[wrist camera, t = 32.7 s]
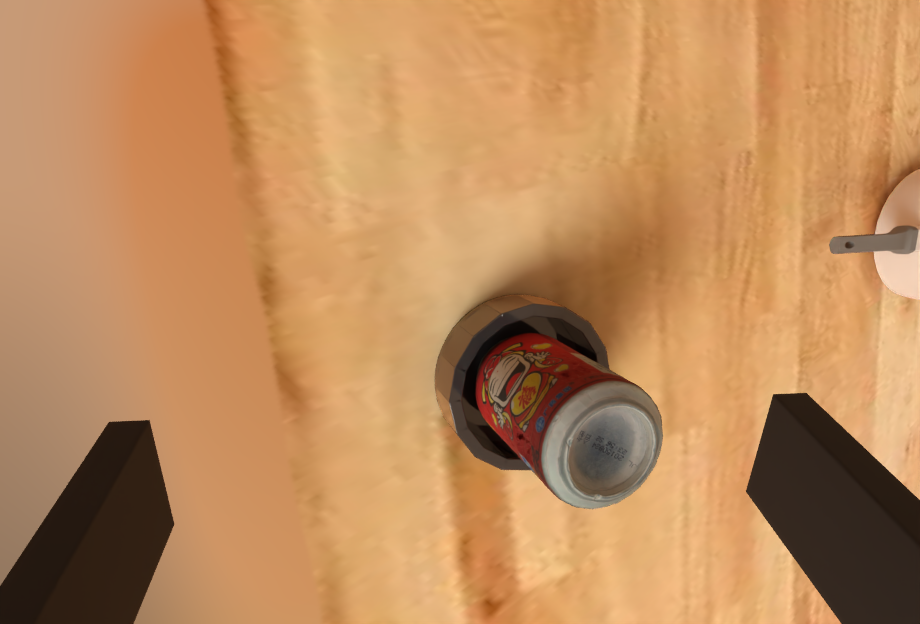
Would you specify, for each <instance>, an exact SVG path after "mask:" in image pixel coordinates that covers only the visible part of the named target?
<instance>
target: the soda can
mask: <svg viewBox="0 0 920 624" xmlns="http://www.w3.org/2000/svg"><path fill="white" fill-rule="evenodd" d="M475 396H476V401H477V405H478V408H479V410H480V412H481V414H482V416H483V418H484V419H485V421H486V422H487V423H488V424H489V425H490V426H491V427H492V428H493V430H494V431H495V432H496V433H497V434H498V435H499V436H500V437H501V438H502V439H503V440H504V441H505V442H506V443H507V444H508V445H509V447H510V448H511V449H512V450H513V451H514V452H515V453H516V454H517V455H518V456H519V457H520V458H521V459H522V460H523V461H524V462H525V464H526V465H527V466H528V467H529V468H530V469H531V470H532V471H533V472H534V473H535V474H536V475H537V476H538V478H539V479H540V480H541V481H542V482H543V483H544V484H545V486H546V487H547V488H548V489H549V490H550V491H551V492H552V493H553V494H554V495H555V496H556V497H558V498H559V499H560V500H562V501H564V502H566V503H568V504H570V505H572V506H574V507H578V508H587V509H596V508H602V507H607V506H610V505H612V504H616V503H618V502H620V501H621V500H623V499H625V498H626V497H628V496H630V495H631V494H632V493H633V492H635V491H636V490H637V489H638V488H639V487H640V486H641V485H642V484H643V483H644V481H645V480H646V479H647V477H648V476H649V474H650V473H651V471H652V470H653V468H654V467H655V465H656V462H657V459H658V457H659V454H660V450H661V446H662V439H663V432H662V420H661V415H660V412H659V410H658V408H657V406H656V404H655V403H654V402H653V400H652V398H651V397H650V396H649V395H648V394H647V393H646V392H645V391H644V390H643V389H642V388H640V387H639V386H638V385H636V384H634V383H632V382H630V381H628V380H627V379H625V378H623V377H622V376H620V375H618V374H616V373H614V372H612V371H611V370H609V369H607V368H605V367H604V366H602V365H600V364H598V363H596V362H595V361H593V360H591V359H589V358H587V357H586V356H584V355H582V354H580V353H579V352H577V351H575V350H573V349H572V348H570V347H568V346H566V345H565V344H563V343H561V342H559V341H558V340H556V339H554V338H552V337H549V336H547V335H544V334H538V333H523V334H519V335H515V336H512V337H509V338H506V339H504V340H501V341H500V342H498V343H497V344H495V345H494V346H493V347H491V348H490V349H489V350H488V351H487V353H486V354H485V355H484V357H483V358H482V360H481V362H480V365H479V367H478V371H477V376H476V389H475Z"/></svg>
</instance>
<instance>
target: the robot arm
mask: <svg viewBox="0 0 920 624" xmlns="http://www.w3.org/2000/svg"><path fill="white" fill-rule="evenodd" d="M746 492H747V494H748V495H749V496H750V498H751V499H752V501H753V502H754V503H755V505H756V506H757V507H758V509H759V510H760V512H761V513H762V514H763V516H764V517H765V519H766V520H767V521H768V523H769V524H770V525H771V527H772V528H773V530H774V531H775V532H776V534H777V535H778V536H779V538H780V539H781V541H782V542H783V543H784V545H785V546H786V548H787V549H788V550H789V552H790V553H791V554H792V556H793V557H794V559H795V560H796V561H797V563H798V564H799V565H800V567H801V568H802V570H803V571H804V572H805V574H806V575H807V577H808V578H809V579H810V581H811V582H812V583H813V585H814V586H815V588H816V589H817V590H818V592H819V593H820V594H821V596H822V597H823V599H824V600H825V601H826V603H827V604H828V606H829V607H830V608H831V610H832V611H833V612H834V614H835V615H836V617H837V618H838V619H839V621H840V622H841V623H842V624H920V500H919V499H918V498H917V497H916V496H915V495H914V494H913V493H911V492H910V491H909V490H908V489H907V488H906V487H905V486H904V485H903V484H902V483H901V482H900V481H899V480H898V479H897V478H896V477H895V476H893V475H892V474H891V473H890V472H889V471H888V470H887V469H886V468H885V467H884V466H883V465H882V464H881V463H880V462H879V461H878V460H877V459H875V458H874V457H873V456H872V455H871V454H870V453H869V452H868V451H867V450H866V449H865V448H864V447H863V446H862V445H861V444H860V443H859V442H858V441H856V440H855V439H854V438H853V437H852V436H851V435H850V434H849V433H848V432H847V431H846V430H845V429H844V428H843V427H842V426H841V425H840V424H838V423H837V422H836V421H835V420H834V419H833V418H832V417H831V416H830V415H829V414H828V413H827V412H826V411H825V410H824V409H823V408H822V407H820V406H819V405H818V404H817V403H816V402H815V401H814V400H813V399H812V398H811V397H810V396H809V395H808V394H807V393H795V394H773V397H772V401H771V405H770V408H769V412H768V415H767V419H766V422H765V426H764V429H763V433H762V436H761V440H760V444H759V447H758V451H757V454H756V458H755V461H754V465H753V468H752V472H751V476H750V479H749V483H748V486H747V490H746ZM173 526H174V521H173V517H172V513H171V509H170V505H169V501H168V496H167V492H166V488H165V483H164V479H163V475H162V471H161V467H160V463H159V458H158V454H157V450H156V446H155V441H154V437H153V433H152V429H151V425H150V421H149V420H145V421H122V422H109V423H108V424H107V426H106V427H105V429H104V431H103V432H102V433H101V435H100V436H99V438H98V439H97V441H96V443H95V444H94V446H93V447H92V449H91V450H90V452H89V453H88V455H87V456H86V458H85V459H84V461H83V462H82V464H81V465H80V467H79V468H78V470H77V471H76V473H75V474H74V476H73V477H72V479H71V480H70V482H69V483H68V485H67V486H66V488H65V489H64V491H63V492H62V494H61V495H60V497H59V498H58V500H57V501H56V503H55V504H54V506H53V507H52V509H51V510H50V512H49V513H48V515H47V516H46V518H45V519H44V521H43V522H42V524H41V525H40V527H39V528H38V530H37V531H36V533H35V535H34V536H33V537H32V539H31V540H30V542H29V543H28V545H27V547H26V548H25V550H24V551H23V553H22V554H21V556H20V557H19V559H18V560H17V562H16V563H15V565H14V566H13V568H12V569H11V571H10V572H9V574H8V575H7V577H6V578H5V580H4V581H3V583H2V584H1V586H0V624H133V623H134V621H135V619H136V616H137V614H138V611H139V609H140V606H141V604H142V601H143V599H144V597H145V594H146V592H147V589H148V587H149V584H150V582H151V580H152V577H153V575H154V572H155V570H156V567H157V565H158V562H159V560H160V557H161V555H162V553H163V550H164V548H165V545H166V543H167V540H168V538H169V536H170V533H171V531H172V528H173Z"/></svg>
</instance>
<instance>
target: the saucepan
mask: <svg viewBox="0 0 920 624" xmlns="http://www.w3.org/2000/svg"><path fill="white" fill-rule="evenodd" d="M829 246H830V251H831V253H833V254H842V253H860V252H874V260H875V264H876V268H877V272H878V274H879V276H880V278H881V280H882V282H883V283H884V284H885V285H886V286H887V288H888V289H890V290H891V291H892V292H894V293H895V294H898V295H901V296H904V297H908V298H913V299H918V300H920V169H918V170H915V171H914V172H912V173H911V174H909V175H908V176H906V177H905V178H904V179H903V180H902V181H901V182H900V183H899V184H898V185H897V186H896V187H895V189H894V190H893V191H892V193H891V194H890V195H889V197H888V199H887V201H886V203H885V204H884V206H883V208H882V211H881V213H880V216H879V219H878V221H877V226H876V230H875V234H870V235H854V236H838V237H833V238H832V239H831V241H830V244H829Z"/></svg>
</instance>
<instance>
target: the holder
mask: <svg viewBox="0 0 920 624" xmlns="http://www.w3.org/2000/svg"><path fill="white" fill-rule="evenodd" d="M523 333H538V334H544V335H547V336H549V337H552V338H554V339H556V340H558V341H559V342H561V343H563V344H565V345H566V346H568V347H570V348H572V349H573V350H575V351H577V352H579V353H580V354H582V355H584V356H586V357H587V358H589V359H591V360H593V361H595V362H596V363H598V364H600V365H602V366H604V367H605V368H607V369H609V364H608V358H607V351H606V347H605V346H604V344H603V342H602V341H601V339H600V338H599V336H598V335H597V333H596V331H595V330H594V328H593V327H592V325H591V323H589V322H588V321H587V320H585V319H583V318H582V317H580V316H579V315H577V314H575V313H574V312H572V311H571V310H569V309H567V308H566V307H564V306H561V305H559V304H557V303H555V302H552V301H550V300H548V299H545V298H540V297H536V296H531V295H523V294H514V295H505V296H501V297H497V298H494V299H492V300H489V301H486V302H485V303H483V304H481V305H479V306H477V307H476V308H474V309H473V310H471V311H470V312H469V313H468V314H466V315H465V316H464V317H463V318H462V319H461V320H460V321H459V322H458V323H457V324H456V326H455V327H454V328H453V329H452V331H451V332H450V334H449V335H448V337H447V338H446V340H445V342H444V344H443V346H442V349H441V351H440V354H439V357H438V361H437V365H436V372H435V391H436V396H437V401H438V404H439V407H440V409H441V412H442V414H443V417H444V419H445V420H446V421H447V422H448V424H449V425H450V426H451V427H452V429H453V430H454V431H455V433H456V434H457V435H458V436H459V438H460V439H461V440H462V441H463V443H464V444H465V445H466V446H467V448H468V449H469V450H470V451H471V453H472V454H473V455H474V456H475V457H476V458H478V459H480V460H482V461H484V462H486V463H488V464H491V465H493V466H495V467H497V468H499V469H501V470H531V469H530V468H529V467H528V466H527V465H526V464H525V462H524V461H523V460H522V459H521V458H520V457H519V456H518V455H517V454H516V453H515V452H514V451H513V450H512V449H511V448H510V447H509V445H508V444H507V443H506V442H505V441H504V440H503V439H502V438H501V437H500V436H499V435H498V434H497V433H496V432H495V431H494V430H493V428H492V427H491V426H490V425H489V424H488V423H487V422H486V421H485V419H484V418H483V416H482V414H481V412H480V410H479V408H478V405H477V401H476V396H475V389H476V376H477V371H478V367H479V365H480V362H481V360H482V358H483V357H484V355H485V354H486V353H487V351H488V350H489V349H490V348H491V347H493V346H494V345H495V344H497V343H498V342H500V341H501V340H504V339H506V338H509V337H512V336H515V335H519V334H523Z"/></svg>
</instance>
